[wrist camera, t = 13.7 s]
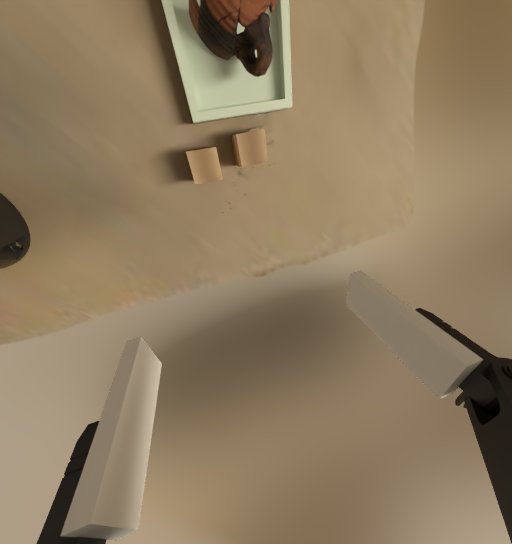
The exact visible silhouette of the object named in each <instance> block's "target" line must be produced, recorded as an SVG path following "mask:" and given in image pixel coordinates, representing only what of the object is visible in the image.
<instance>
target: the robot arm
mask: <svg viewBox="0 0 512 544" xmlns="http://www.w3.org/2000/svg"><path fill="white" fill-rule="evenodd" d="M15 242H19V243H21V244H22V245H23V248H20V247H18V246H16V245H15V244H16V243H15ZM29 246H30V233H29V229H28V226H27V224H26V222H25V220H24V218H23V217H22V215H21V214H20V212H19V211H18V210H17V209H16V208H15V206H14V205H13V204H12V203H11V202H10V201H9V200H8V199H7V198H6V197H5V196H3V195H2V194H1V193H0V269H2V268H5V267H8V266H10V265H13V264H15V263H17V262H18V261H20V260H21V259H22V258H23V257H24V256H25V255H26V253H27V251H28V249H29ZM346 305H347V306H348V307H349V308H350V309H351V310H352V311H353V312H354V313H355V314H356V315H357V316H358V317H359V318H360V319H361V320H362V321H363V322H364V323H365V324H366V325H367V326H368V328H370V329H371V330H372V332H373V333H374V334H375V335H376V336H377V337H378V338H379V339H380V340H381V341H382V342H383V343H384V344H385V345H386V346H387V347H388V348H389V349H390V350H391V351H392V352H393V353H394V354H395V355H396V356H397V357H398V358H399V359H400V360H401V361H402V362H403V363H404V364H405V365H406V366H407V367H408V368H409V369H410V370H411V371H412V372H413V373H414V374H415V375H416V376H417V377H418V378H419V379H420V381H422V383H424V385H425V386H426V387H427V388H428V389H429V390H430V391H431V392H432V393H433V394H434V395H435V396H436V397H437V398H438V399H441V398H443V397H445V396H447V395H450V394H452V393H453V392H454V391H455V390H456V389H457V388H458V387H460V388H461V389H462V390H463V392H462V393H461V394H460V395H459V396H458V397H457V399H456V401H455V402H456V405H457V406H459V405H460V404H461V403H462V402H465V404H464V408H467V410H468V414H469V417H470V420H471V423H472V426H473V429H474V432H475V435H476V438H477V441H478V444H479V447H480V450H481V453H482V456H483V459H484V462H485V465H486V467H487V471H488V474H489V477H490V479H491V483H492V486H493V488H494V492H495V495H496V498H497V501H498V504H499V507H500V510H501V513H502V516H503V519H504V521H505V525H506V528H507V531H508V534H509V537H510V540H511V543H512V359H508V358H498V357H496V356H494V355H492V354H491V353H489V352H488V351H486V350H485V349H483V348H482V347H480V346H479V345H477V344H476V343H474V342H473V341H471V340H470V339H469V338H467V337H466V336H464V335H463V334H461V333H460V332H459V331H457V330H456V329H453V328H452V327H451V326H450V325H448V324H447V323H444V322H443V320H441V319H440V318H438V317H437V316H435V315H434V314H432V313H430V312H428V311H426V310H423V309H421V308H418V309H416V310H414V309H413V308H412V307H410V306H409V305H408V304H406V303H405V302H403V301H402V300H401V299H399V298H398V297H397V296H395V295H394V294H392V293H391V292H389V291H388V290H387V289H386V288H384V287H383V286H381V285H380V284H379V283H377V282H376V281H375V280H373V279H372V278H370V277H369V276H368V275H366V274H365V273H363V272H362V271H361V270H360V271H357V272H353V273H351V274H350V279H349V285H348V291H347V298H346ZM161 366H162V364H161V362H160V361H159V360H158V358H157V357H156V356H155V355H154V353H153V352H152V350H151V349H150V348H149V346H148V345H147V344H146V342H145V341H144V340H143V339H142V337H139V338H136V339H132V340H129V341H127V342H126V345H125V348H124V350H123V353H122V356H121V359H120V363H119V365H118V368H117V371H116V374H115V377H114V380H113V383H112V386H111V389H110V392H109V395H108V397H107V400H106V403H105V407H104V409H103V412H102V415H101V418H100V421H97V422H95V423H91V424H88V426H87V427H86V429H85V430H84V432H83V433H82V435H81V436H80V438H79V439H78V441H77V443H76V445H75V448H74V451H73V453H72V456H71V458H70V460H71V461H70V462H69V463H68V466H67V468H66V471H65V473H64V475H65V476H64V478H63V479H62V481H61V484H60V486H59V489H58V491H57V494H56V497H55V499H54V501H53V504H52V506H51V509H50V512H49V514H48V517H47V519H46V522H45V524H44V527H43V529H42V532H41V534H40V537H39V540H38V542H37V544H105V543H106V540H117V539H120V538H122V537H124V536H127V535H129V534H131V533H133V532H136V531H138V527H139V521H140V514H141V507H142V499H143V493H144V485H145V478H146V471H147V464H148V457H149V450H150V443H151V436H152V428H153V421H154V414H155V408H156V401H157V393H158V387H159V379H160V373H161Z"/></svg>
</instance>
